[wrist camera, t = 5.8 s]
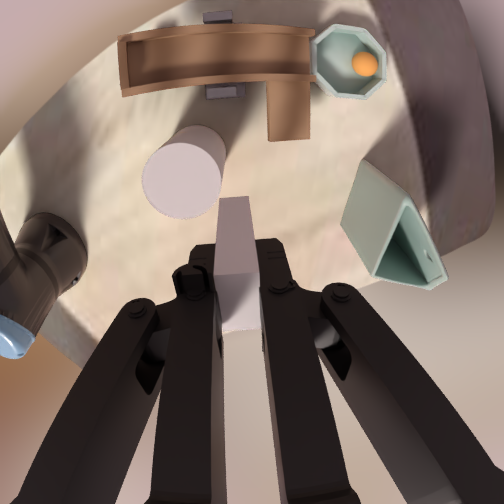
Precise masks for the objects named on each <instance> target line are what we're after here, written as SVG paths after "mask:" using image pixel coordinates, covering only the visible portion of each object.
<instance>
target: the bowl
mask: <svg viewBox="0 0 504 504" xmlns="http://www.w3.org/2000/svg"><path fill="white" fill-rule="evenodd" d="M359 52H368V53H370V54H372V55H373V56H374V57H375V58H376V60H377V62H378V69H377V71H376V73H375V74H373V75H371V76H361V75H359V74H358V73H356V72H355V71H354V69H353V67H352V58H353V56H354V55H355V54H357V53H359ZM309 55H310V75H316V82H315V83H316V84H317V85H318V86H319V87H320V88H321V89H322V90H323V91H324V92H325V93H326V95H328V96H332V97H339V98H351V99H361V100H365V99H368V98H369V97H370V96H371V95H372V94H373V93H374V92H375V91H376V90H377V89H379V88H380V87H381V86H382V85H383V84H384V83H385V82H386V52H385V50H384V49H383V48H382V47H381V46H380V44H379V43H378V42H377V41H376V40H375V39H374V38H373V36H372V35H371V34H370V33H369V32H368V31H367V30H366V29H365V28H360V27H354V26H348V25H341V24H333V25H331V26H329V27H327V28H326V29H324V30H323V31H322V32H321V33H320V34H318V35H317V36H316V37H315V38H314V39H312V40H311V41H310V42H309Z"/></svg>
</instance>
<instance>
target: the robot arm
mask: <svg viewBox="0 0 504 504" xmlns="http://www.w3.org/2000/svg"><path fill="white" fill-rule="evenodd" d="M86 266H87V255H86V250H85V247H84V245H83V242H82V240H81V238H80V237H79V235H78V234H77V232H76V231H75V230H74V229H73V228H72V226H71V225H70V224H68V223H67V222H66V221H65V220H63V219H62V218H60V217H58V216H56V215H53V214H50V213H39V214H36V215H34V216H32V217H31V218H30V219H29V220H28V221H27V222H26V223H25V224H24V225H23V226H22V228H21V230H20V232H19V235H18V237H17V239H16V241H15V243H13V241H12V238H11V236H10V234H9V231H8V229H7V226H6V224H5V221H4V219H3V216H2V213H1V210H0V355H1V356H4V357H7V358H11V359H18V358H21V357H23V356H24V355H25V354H26V352H27V351H28V349H29V347H30V346H31V344H32V343H33V342H34V341H35V337H36V335H37V333H38V331H39V330H40V328H41V326H42V324H43V322H44V320H45V318H46V317H47V315H48V313H49V311H50V309H51V308H52V306H53V304H54V303H55V301H56V299H57V298H58V297H59V296H60V295H61V294H63V293H64V292H66V291H67V290H69V289H70V288H71V287H73V286H74V285H76V284H77V283H78V281H79V280H80V278H81V277H82V275H83V274H84V272H85V270H86ZM172 278H173V282H174V286H175V290H176V294H177V297H176V298H175V299H173V300H172V301H169V302H167V303H163V304H160V305H156V306H155V303H154V302H153V301H152V300H150V299H147V298H138V299H134V300H131V301H130V302H128V303H126V304H125V305H124V306H123V307H122V309H121V310H120V312H119V313H118V315H117V316H116V318H115V319H114V321H113V322H112V324H111V325H110V327H109V328H108V330H107V331H106V333H105V334H104V336H103V338H102V339H101V341H100V342H99V344H98V345H97V347H96V349H95V350H94V352H93V353H92V355H91V357H90V358H89V360H88V361H87V363H86V365H85V366H84V368H83V370H82V371H81V373H80V375H79V376H78V378H77V380H76V382H75V383H74V385H73V387H72V388H71V390H70V392H69V394H68V396H67V397H66V399H65V401H64V403H63V404H62V407H61V408H60V410H59V412H58V413H57V415H56V417H55V419H54V421H53V423H52V425H51V427H50V428H49V430H48V433H47V434H46V436H45V438H44V440H43V442H42V444H41V447H40V448H39V450H38V452H37V454H36V457H35V459H34V461H33V463H32V465H31V467H30V469H29V471H28V474H27V476H26V478H25V480H24V483H23V485H22V487H21V490H20V492H19V494H18V496H17V497H16V498H15V499H14V500H13V501H12V502H11V503H10V504H115V502H116V500H117V497H118V495H119V492H120V489H121V487H122V484H123V481H124V479H125V476H126V474H127V471H128V469H129V466H130V463H131V461H132V458H133V456H134V453H135V451H136V448H137V446H138V443H139V441H140V438H141V436H142V433H143V431H144V429H145V426H146V424H147V421H148V419H149V416H150V414H151V411H152V409H153V407H154V404H155V402H156V399H157V397H158V395H159V392H160V390H161V393H160V401H159V408H158V416H157V425H156V434H155V444H154V455H153V465H152V466H153V467H152V478H151V491H150V496H149V499H148V500H147V501H146V502H145V503H144V504H227V489H226V466H225V465H226V464H225V433H224V432H225V431H224V368H223V367H224V366H223V365H224V364H223V363H224V362H223V337H222V330H223V331H237V330H250V329H262V349H263V350H262V351H263V352H264V361H265V370H266V378H267V387H268V396H269V404H270V413H271V422H272V431H273V440H274V448H275V457H276V466H277V474H278V483H279V492H280V500H281V504H361V502H360V499H359V497H358V495H357V493H356V492H355V491H354V490H353V489H352V488H351V486H350V484H349V480H348V476H347V471H346V467H345V462H344V458H343V453H342V449H341V445H340V440H339V437H338V432H337V428H336V423H335V420H334V415H333V411H332V408H331V403H330V399H329V396H328V392H327V387H326V383H325V380H324V376H323V372H322V368H321V364H320V360H319V357H320V358H321V360H322V362H323V363H324V365H325V367H326V368H327V370H328V372H329V373H330V375H331V377H332V378H333V380H334V382H335V383H336V385H337V387H338V388H339V390H340V392H341V393H342V395H343V397H344V398H345V400H346V402H347V403H348V405H349V407H350V408H351V410H352V412H353V413H354V415H355V416H356V418H357V420H358V422H359V423H360V425H361V427H362V428H363V430H364V432H365V433H366V435H367V437H368V438H369V440H370V442H371V443H372V445H373V447H374V449H375V450H376V452H377V454H378V455H379V457H380V458H381V460H382V462H383V463H384V465H385V467H386V469H387V470H388V472H389V474H390V475H391V477H392V479H393V480H394V482H395V484H396V485H397V487H398V489H399V491H400V492H401V494H402V495H403V497H404V499H405V501H406V502H407V504H504V471H502V470H501V469H499V468H498V467H496V466H495V465H494V464H493V462H492V461H491V459H490V458H489V456H488V455H487V453H486V452H485V450H484V449H483V447H482V446H481V444H480V443H479V442H478V440H477V439H476V437H475V436H474V435H473V433H472V432H471V430H470V429H469V427H468V426H467V425H466V423H465V422H464V421H463V419H462V418H461V417H460V415H459V414H458V412H457V411H456V410H455V409H454V407H453V406H452V404H451V403H450V402H449V400H448V399H447V398H446V397H445V395H444V394H443V393H442V391H441V390H440V389H439V387H438V386H437V385H436V384H435V382H434V381H433V380H432V379H431V377H430V376H429V375H428V374H427V372H426V371H425V370H424V368H423V367H422V366H421V365H420V363H419V362H418V361H417V360H416V359H415V357H414V356H413V355H412V354H411V352H410V351H409V350H408V349H407V347H406V346H405V345H404V344H403V343H402V341H401V340H400V339H399V338H398V337H397V336H396V334H395V333H394V332H393V331H392V330H391V328H390V327H389V326H388V325H387V324H386V322H385V321H384V320H383V319H382V318H381V317H380V315H379V314H378V313H377V312H376V311H375V310H374V309H373V307H372V306H371V305H370V304H369V303H368V302H367V301H366V300H365V298H364V297H363V296H362V295H361V294H360V293H359V292H358V290H357V289H355V288H354V287H353V286H351V285H348V284H346V283H331V284H329V285H327V286H325V288H324V289H323V290H322V292H315V291H309V290H305V289H303V288H301V287H299V285H298V284H297V282H296V281H295V280H293V278H292V275H291V271H290V268H289V264H288V261H287V258H286V254H285V250H284V247H283V244H282V243H281V242H280V241H279V240H278V239H277V238H271V239H257V240H255V238H254V231H253V224H252V217H251V210H250V203H249V196H242V197H229V198H220V200H219V211H218V222H217V234H216V243H215V244H203V245H196V246H195V247H194V248H193V249H192V251H191V252H190V257H189V262H188V264H185V265H183V266H181V267H179V268H178V269H176V270H175V271H174V273H173V275H172ZM318 355H319V357H318Z"/></svg>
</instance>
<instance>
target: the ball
mask: <svg viewBox="0 0 504 504" xmlns="http://www.w3.org/2000/svg"><path fill="white" fill-rule="evenodd" d="M352 67H353V69H354V71H355V72H356V73H358V74H359V75H361V76H371V75H373V74H375V73H376V71H377V69H378V62H377V60H376V58H375V57H374V56H373V55H372V54H370V53H368V52H359V53H357V54H355V55H354V56H353V58H352Z"/></svg>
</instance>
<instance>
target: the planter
mask: <svg viewBox="0 0 504 504" xmlns="http://www.w3.org/2000/svg"><path fill="white" fill-rule="evenodd" d="M340 225H341V227H342V228H343V230H344V232H345V233H346V235H347V236H348V238H349V240H350V241H351V243H352V245H353V246H354V248H355V250H356V251H357V253H358V255H359V256H360V258H361V260H362V262H363V263H364V265H365V267H366V269H367V270H368V272H369V274H370V275H371V277H373V278H377V279H381V280H384V281H388V282H393V283H398V284H404V285H410V286H415V287H419V288H423V289H427V290H432V289H433V288H434V287H436V286H438V285H439V284H440V283H442V282H444V281H446V280H448V277H449V276H448V273H447V271H446V268H445V266H444V264H443V261H442V259H441V257H440V255H439V252H438V250H437V248H436V246H435V243H434V241H433V239H432V237H431V235H430V233H429V231H428V229H427V226H426V224H425V222H424V220H423V218H422V216H421V215H420V213H419V211H418V209H417V207H416V205H415V203H414V201H413V200H412V198H411V196H410V195H409V194H408V193H407V192H406V191H405V190H404V189H402V188H401V187H400V186H399V185H397V184H396V183H395V182H394V181H392V180H391V179H390V178H388V177H387V176H386V175H385V174H383V173H382V172H381V171H379V170H378V169H377V168H375V167H374V166H373V165H371V164H370V163H368V162H367V161H366V160H364V159H363V160H362V161H361V162H360V165H359V168H358V171H357V174H356V178H355V181H354V184H353V187H352V190H351V193H350V195H349V198H348V201H347V204H346V207H345V210H344V213H343V217H342V220H341V223H340ZM428 254H429V255H428ZM430 257H431V258H430Z"/></svg>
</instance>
